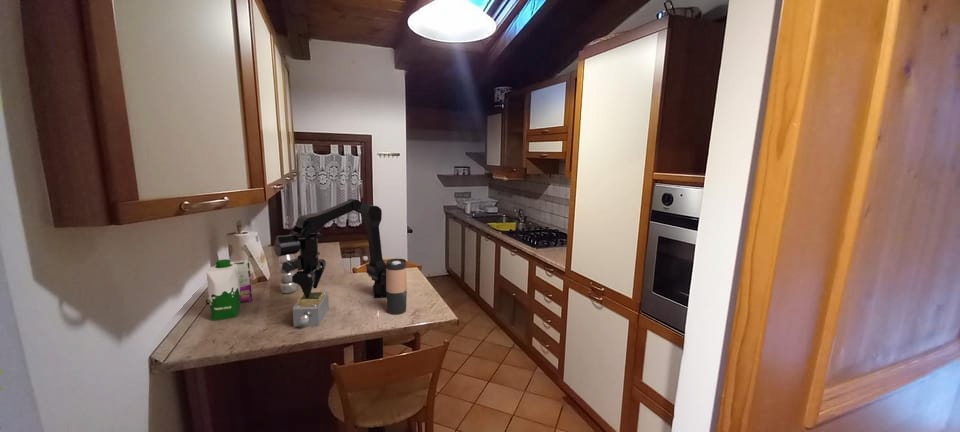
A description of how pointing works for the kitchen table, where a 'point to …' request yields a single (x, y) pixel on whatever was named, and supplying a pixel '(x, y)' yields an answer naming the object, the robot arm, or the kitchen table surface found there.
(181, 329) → the kitchen table surface
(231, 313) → the milk carton
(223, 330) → the kitchen table surface
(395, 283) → the travel mug
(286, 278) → the plastic bottle
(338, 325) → the kitchen table surface
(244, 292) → the candy bar box
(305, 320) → the gearbox
